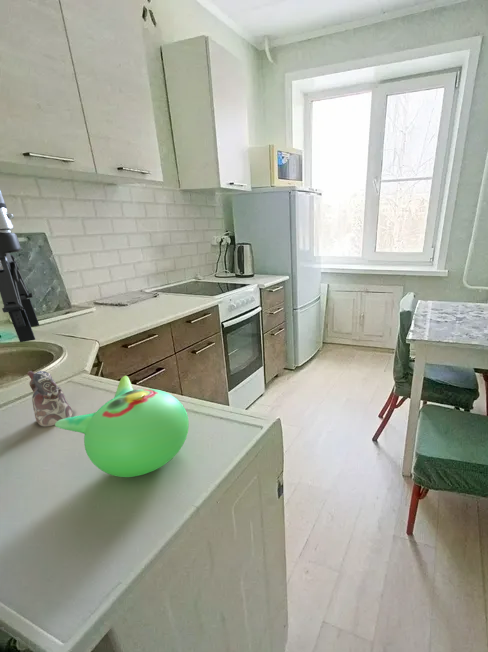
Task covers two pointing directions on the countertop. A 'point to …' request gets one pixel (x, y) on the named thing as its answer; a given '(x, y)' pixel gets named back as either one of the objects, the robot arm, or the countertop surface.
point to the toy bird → (132, 430)
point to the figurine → (48, 399)
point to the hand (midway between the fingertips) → (30, 333)
